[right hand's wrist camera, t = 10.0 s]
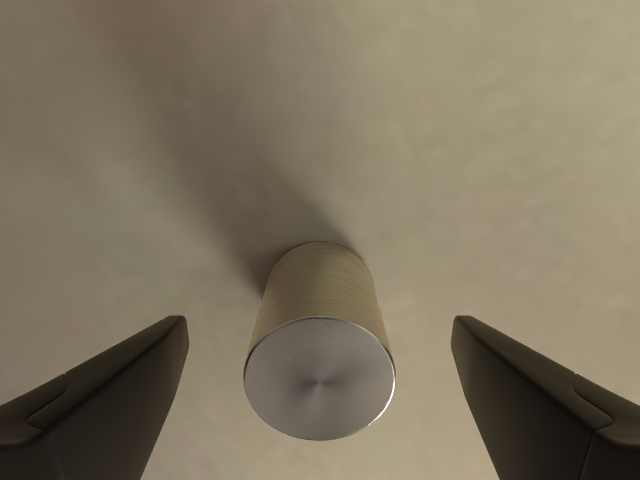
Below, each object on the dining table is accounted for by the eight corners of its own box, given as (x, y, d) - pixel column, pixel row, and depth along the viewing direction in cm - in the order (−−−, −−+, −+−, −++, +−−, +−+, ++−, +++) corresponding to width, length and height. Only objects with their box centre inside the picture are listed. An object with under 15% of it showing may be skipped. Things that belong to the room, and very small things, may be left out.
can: (334, 220, 13) (340, 287, 9) (392, 302, 14) (424, 398, 10) (244, 278, 13) (211, 367, 9) (306, 353, 14) (301, 462, 10)
